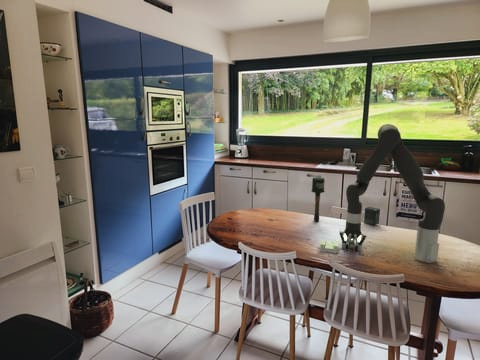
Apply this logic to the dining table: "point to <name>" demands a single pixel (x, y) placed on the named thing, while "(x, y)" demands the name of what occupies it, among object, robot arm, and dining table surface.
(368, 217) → the box
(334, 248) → the cradle
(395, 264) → the dining table surface
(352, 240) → the axle
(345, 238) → the bore block
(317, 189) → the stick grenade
